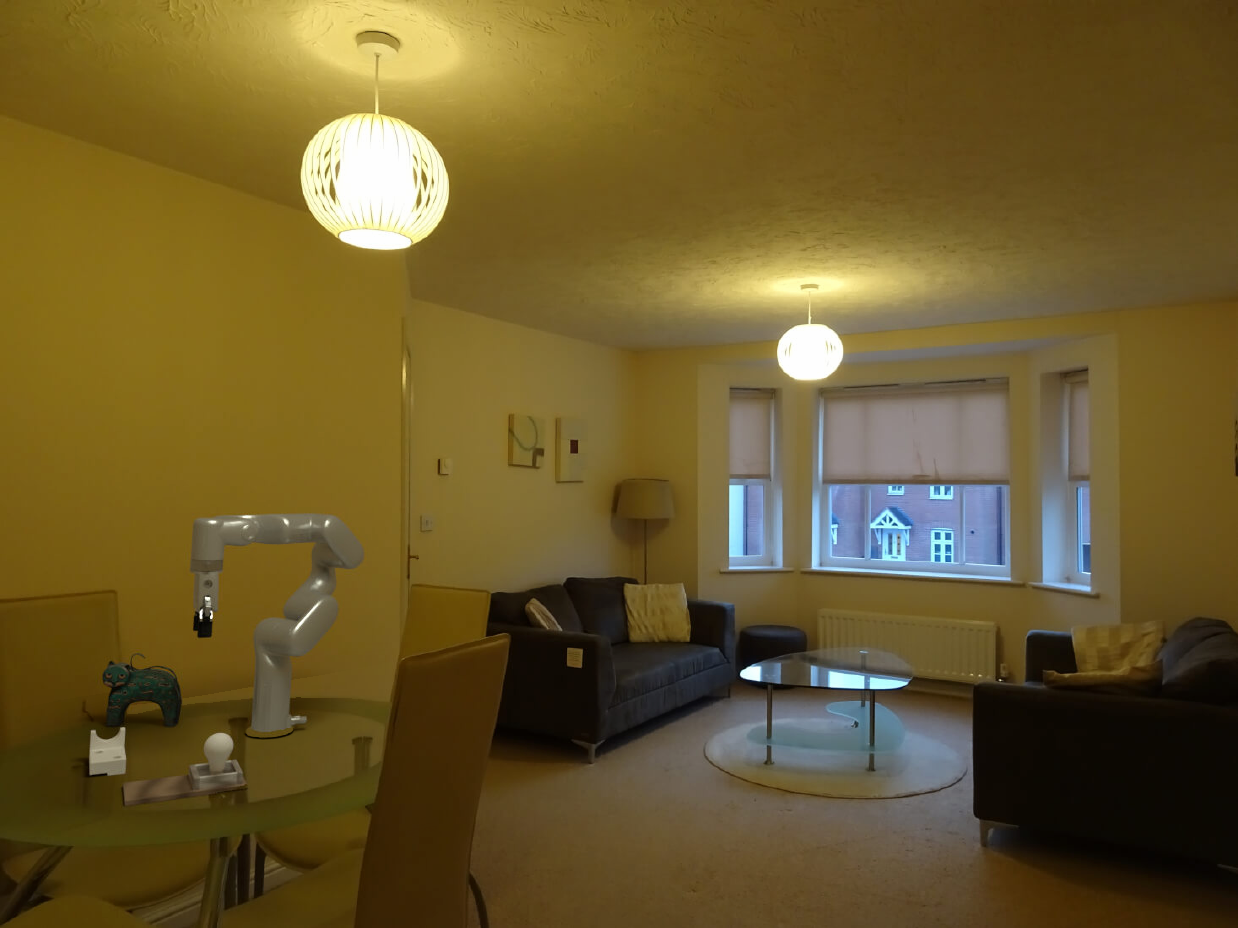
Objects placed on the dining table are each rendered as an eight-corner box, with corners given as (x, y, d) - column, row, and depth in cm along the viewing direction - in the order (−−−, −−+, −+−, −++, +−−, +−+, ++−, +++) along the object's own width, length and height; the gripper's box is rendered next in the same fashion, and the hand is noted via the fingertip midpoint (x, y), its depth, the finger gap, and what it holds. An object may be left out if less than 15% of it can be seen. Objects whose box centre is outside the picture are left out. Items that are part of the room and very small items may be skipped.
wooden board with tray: (239, 772, 199) (240, 757, 199) (247, 789, 189) (248, 773, 189) (122, 787, 186) (124, 771, 186) (124, 805, 176) (126, 789, 176)
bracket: (88, 761, 202) (90, 730, 202) (122, 757, 206) (124, 727, 206) (89, 778, 191) (91, 745, 191) (125, 774, 195) (127, 742, 195)
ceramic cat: (97, 728, 227) (102, 654, 227) (108, 721, 233) (113, 649, 234) (175, 728, 230) (180, 655, 230) (183, 722, 236) (188, 651, 237)
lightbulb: (219, 788, 186) (222, 738, 186) (195, 784, 187) (198, 735, 187) (236, 778, 192) (239, 730, 192) (213, 775, 193) (216, 728, 193)
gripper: (227, 570, 206) (222, 639, 206) (218, 562, 221) (213, 627, 220) (193, 570, 202) (189, 641, 202) (186, 563, 217) (182, 628, 216)
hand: (202, 633), depth 211 cm, fingers open, 9 cm apart
